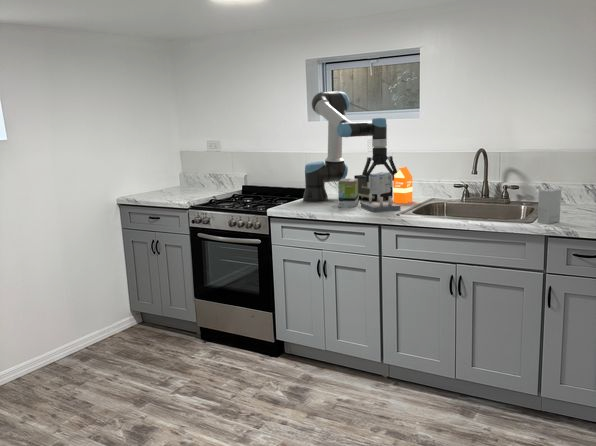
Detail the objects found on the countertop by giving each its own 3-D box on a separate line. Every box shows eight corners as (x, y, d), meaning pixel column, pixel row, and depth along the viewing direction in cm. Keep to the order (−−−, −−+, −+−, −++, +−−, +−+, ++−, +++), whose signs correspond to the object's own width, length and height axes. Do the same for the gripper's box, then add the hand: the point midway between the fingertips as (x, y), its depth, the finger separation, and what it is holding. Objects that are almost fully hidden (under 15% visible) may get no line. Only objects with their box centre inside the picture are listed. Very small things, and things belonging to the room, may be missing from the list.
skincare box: (548, 220, 252) (550, 187, 250) (560, 222, 247) (562, 189, 244) (536, 222, 248) (538, 189, 245) (548, 224, 243) (550, 190, 240)
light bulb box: (380, 191, 305) (380, 171, 303) (391, 192, 300) (390, 172, 298) (369, 193, 298) (368, 173, 296) (379, 194, 293) (379, 174, 291)
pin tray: (360, 207, 308) (360, 193, 307) (385, 205, 312) (385, 192, 310) (374, 212, 290) (373, 198, 288) (400, 210, 293) (400, 196, 292)
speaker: (354, 198, 342) (354, 174, 339) (371, 196, 348) (371, 172, 345) (375, 202, 323) (375, 176, 320) (392, 200, 329) (392, 175, 326)
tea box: (355, 207, 309) (355, 180, 306) (338, 207, 311) (337, 181, 308) (358, 203, 323) (358, 177, 321) (341, 203, 325) (340, 178, 323)
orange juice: (412, 201, 322) (412, 167, 318) (405, 203, 315) (405, 168, 312) (400, 200, 327) (400, 166, 323) (393, 202, 320) (393, 168, 316)
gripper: (360, 148, 288) (361, 189, 292) (403, 146, 294) (403, 186, 298) (355, 148, 295) (356, 188, 299) (397, 145, 301) (397, 185, 305)
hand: (380, 187), depth 298 cm, fingers closed on light bulb box, 12 cm apart
